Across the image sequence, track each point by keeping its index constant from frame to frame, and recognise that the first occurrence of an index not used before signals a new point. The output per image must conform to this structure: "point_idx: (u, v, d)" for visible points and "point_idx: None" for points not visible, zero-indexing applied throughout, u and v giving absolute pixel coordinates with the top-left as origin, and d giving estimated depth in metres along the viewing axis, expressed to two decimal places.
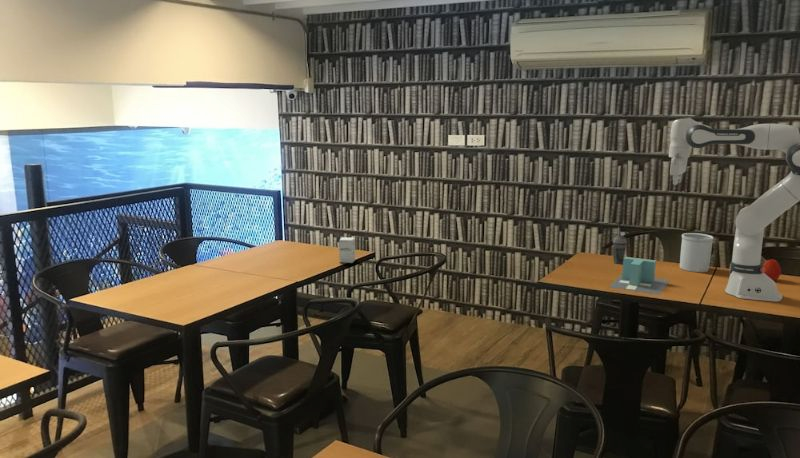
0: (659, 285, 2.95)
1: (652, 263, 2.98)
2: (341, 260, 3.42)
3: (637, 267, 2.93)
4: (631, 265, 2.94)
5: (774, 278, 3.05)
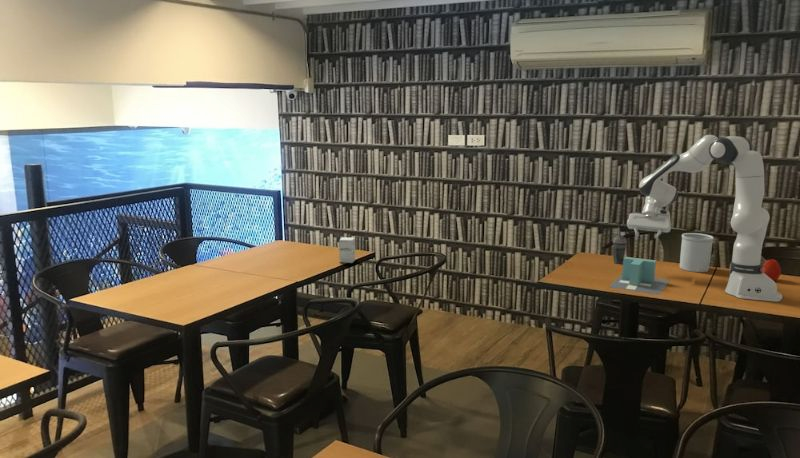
0: (659, 285, 2.95)
1: (652, 263, 2.98)
2: (341, 260, 3.42)
3: (637, 267, 2.93)
4: (631, 265, 2.94)
5: (774, 278, 3.05)
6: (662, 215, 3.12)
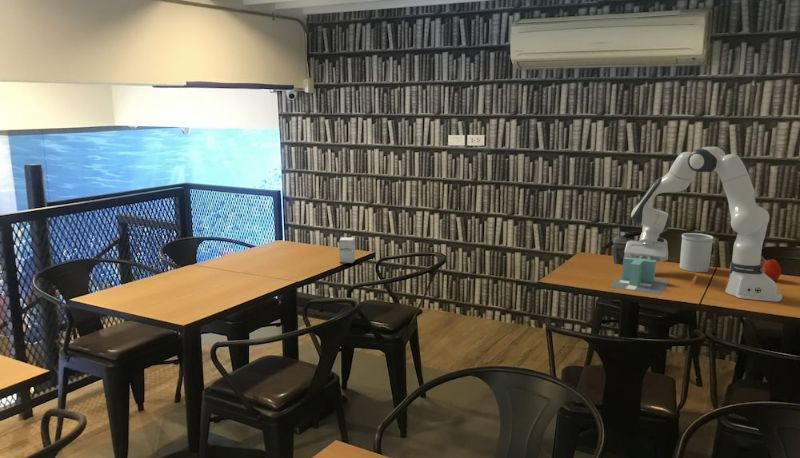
0: (659, 285, 2.95)
1: (652, 263, 2.98)
2: (341, 260, 3.42)
3: (637, 267, 2.93)
4: (631, 265, 2.94)
5: (774, 278, 3.05)
6: (659, 243, 3.14)
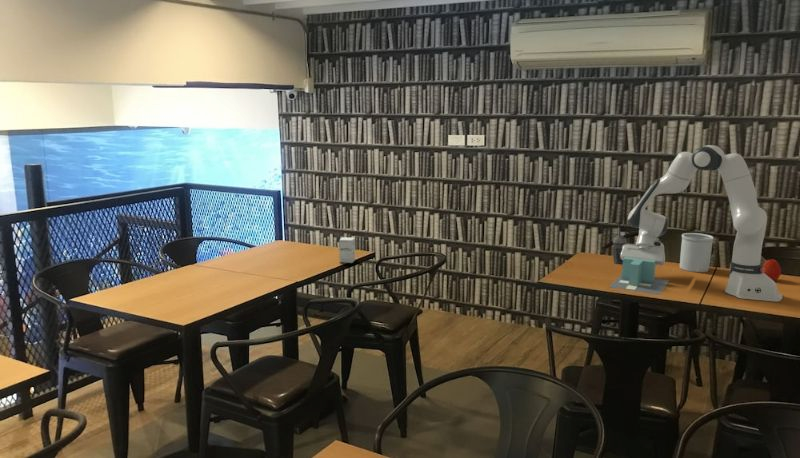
0: (659, 285, 2.95)
1: (652, 263, 2.98)
2: (341, 260, 3.42)
3: (637, 267, 2.93)
4: (631, 265, 2.94)
5: (774, 278, 3.05)
6: (656, 247, 3.06)
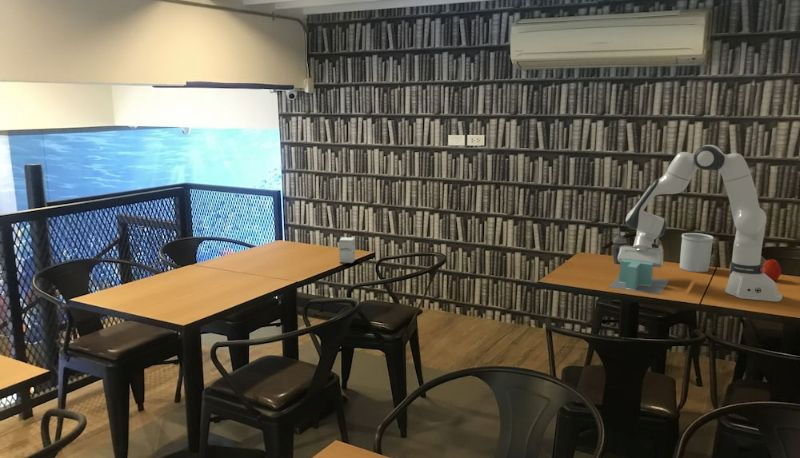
0: (659, 285, 2.95)
1: (649, 266, 2.93)
2: (341, 260, 3.42)
3: (634, 270, 2.88)
4: (628, 268, 2.89)
5: (774, 278, 3.05)
6: (654, 249, 3.01)
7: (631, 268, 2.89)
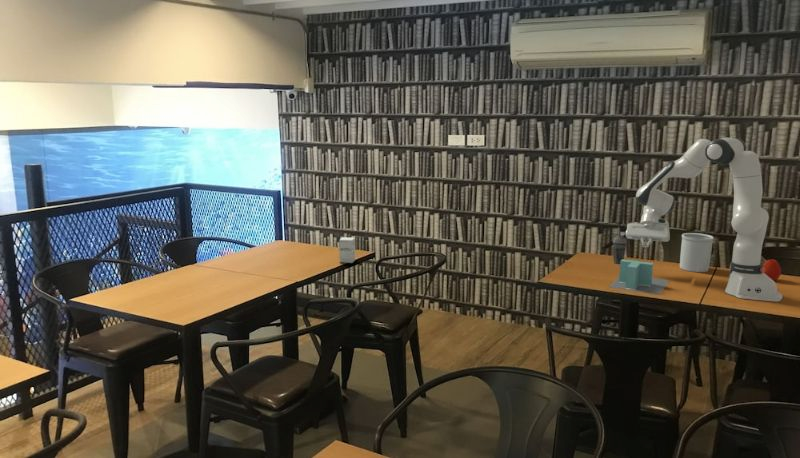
0: (659, 285, 2.95)
1: (649, 266, 2.93)
2: (341, 260, 3.42)
3: (634, 270, 2.88)
4: (628, 268, 2.89)
5: (774, 278, 3.05)
6: (660, 224, 3.10)
7: (631, 268, 2.89)
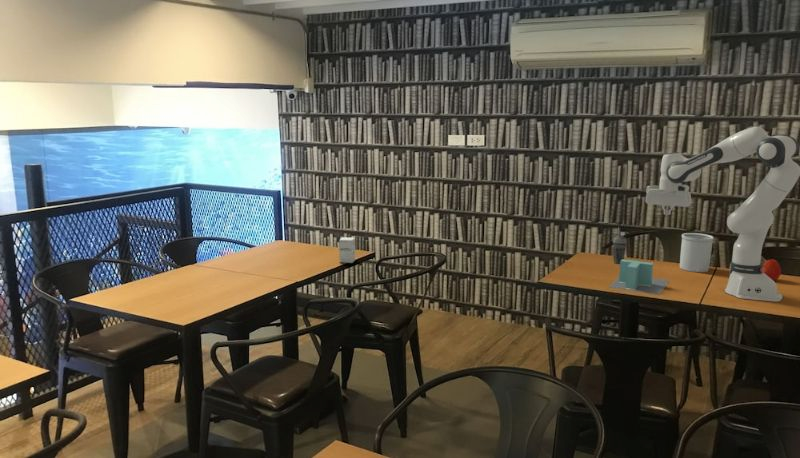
0: (659, 285, 2.95)
1: (649, 266, 2.93)
2: (341, 260, 3.42)
3: (634, 270, 2.88)
4: (628, 268, 2.89)
5: (774, 278, 3.05)
6: (680, 192, 3.02)
7: (631, 268, 2.89)
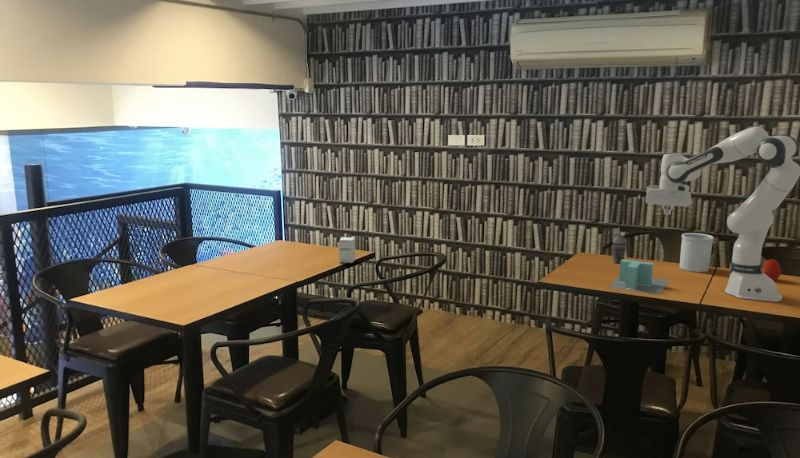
0: (659, 285, 2.95)
1: (649, 266, 2.93)
2: (341, 260, 3.42)
3: (634, 270, 2.88)
4: (628, 268, 2.89)
5: (774, 278, 3.05)
6: (680, 192, 3.02)
7: (631, 268, 2.89)
